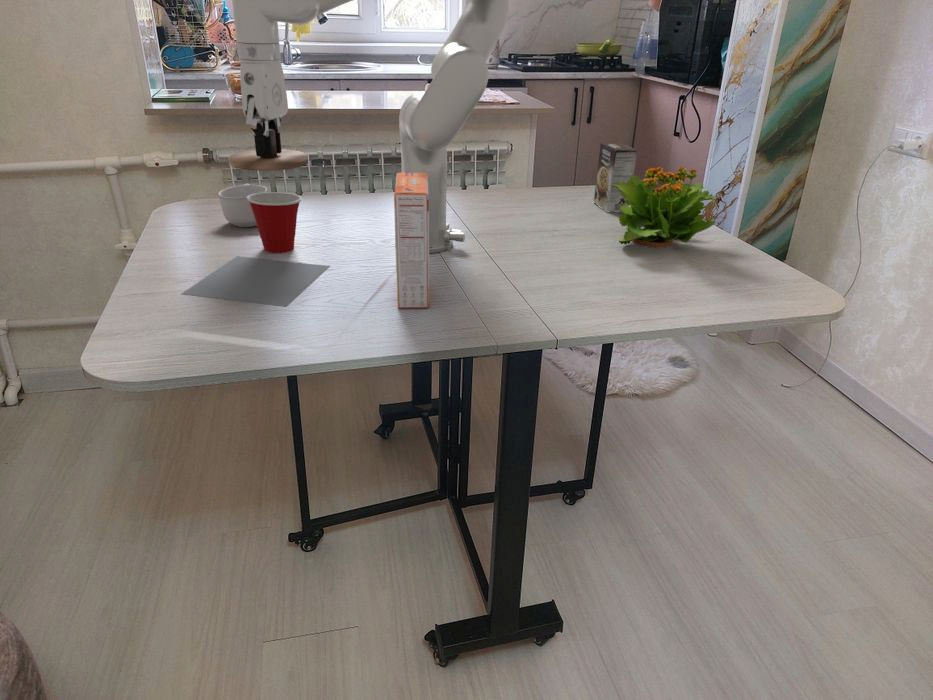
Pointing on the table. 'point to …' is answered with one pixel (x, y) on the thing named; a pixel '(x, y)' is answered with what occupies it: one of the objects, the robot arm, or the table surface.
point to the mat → (258, 281)
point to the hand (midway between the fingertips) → (269, 153)
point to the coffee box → (613, 174)
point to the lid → (276, 162)
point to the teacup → (239, 204)
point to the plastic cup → (276, 219)
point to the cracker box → (412, 239)
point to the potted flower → (662, 208)
